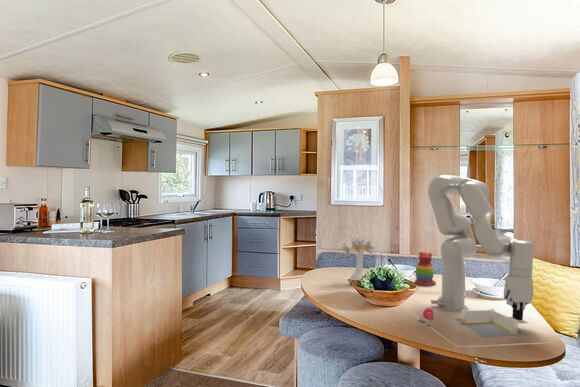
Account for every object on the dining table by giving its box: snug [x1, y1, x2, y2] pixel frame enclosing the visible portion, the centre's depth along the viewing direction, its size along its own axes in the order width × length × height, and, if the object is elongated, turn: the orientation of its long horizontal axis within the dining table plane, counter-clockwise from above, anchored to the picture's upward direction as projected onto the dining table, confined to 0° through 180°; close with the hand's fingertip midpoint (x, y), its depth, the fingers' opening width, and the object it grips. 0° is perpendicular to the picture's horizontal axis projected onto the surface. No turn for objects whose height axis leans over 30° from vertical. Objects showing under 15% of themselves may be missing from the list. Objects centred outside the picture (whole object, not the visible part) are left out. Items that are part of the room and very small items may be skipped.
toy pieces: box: [417, 307, 434, 328], centre depth 153 cm, size 12×11×4 cm
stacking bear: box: [414, 251, 437, 287], centre depth 211 cm, size 11×10×18 cm
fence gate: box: [493, 310, 519, 333], centre depth 146 cm, size 12×1×5 cm, turn 12°
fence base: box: [454, 308, 529, 338], centre depth 148 cm, size 28×18×6 cm, turn 99°
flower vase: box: [341, 238, 375, 281], centre depth 205 cm, size 13×18×25 cm
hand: (517, 318), depth 147 cm, fingers closed
